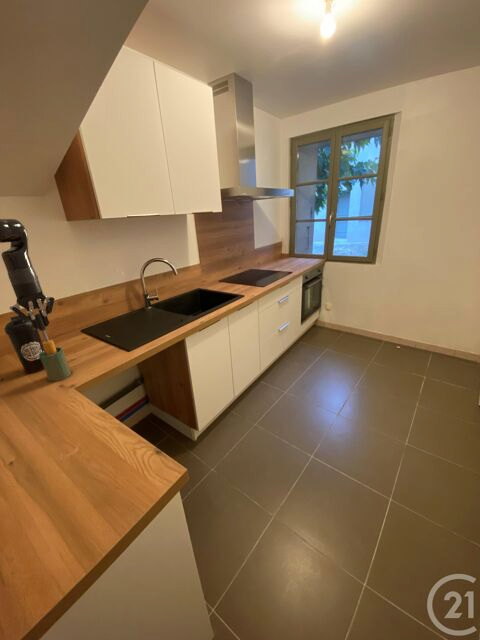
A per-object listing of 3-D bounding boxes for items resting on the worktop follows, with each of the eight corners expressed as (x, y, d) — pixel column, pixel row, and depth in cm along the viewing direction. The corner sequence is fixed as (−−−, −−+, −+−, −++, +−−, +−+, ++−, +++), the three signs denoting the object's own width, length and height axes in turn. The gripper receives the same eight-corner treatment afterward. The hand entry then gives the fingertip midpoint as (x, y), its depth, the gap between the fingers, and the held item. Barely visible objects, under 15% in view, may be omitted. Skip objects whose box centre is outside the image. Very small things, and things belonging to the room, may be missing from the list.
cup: (45, 383, 100) (35, 358, 96) (52, 373, 106) (43, 349, 102) (67, 379, 101) (58, 354, 97) (73, 369, 108) (65, 345, 104)
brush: (45, 356, 98) (29, 316, 92) (48, 352, 101) (33, 313, 95) (55, 354, 99) (40, 315, 93) (58, 350, 102) (44, 312, 96)
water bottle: (25, 377, 105) (2, 324, 96) (20, 368, 111) (-2, 318, 103) (54, 366, 111) (35, 316, 103) (48, 359, 118) (30, 311, 109)
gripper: (42, 276, 97) (57, 319, 103) (-5, 284, 86) (15, 332, 93) (51, 277, 93) (66, 322, 100) (3, 286, 83) (23, 336, 89)
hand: (41, 326), depth 96 cm, fingers closed on brush, 2 cm apart
